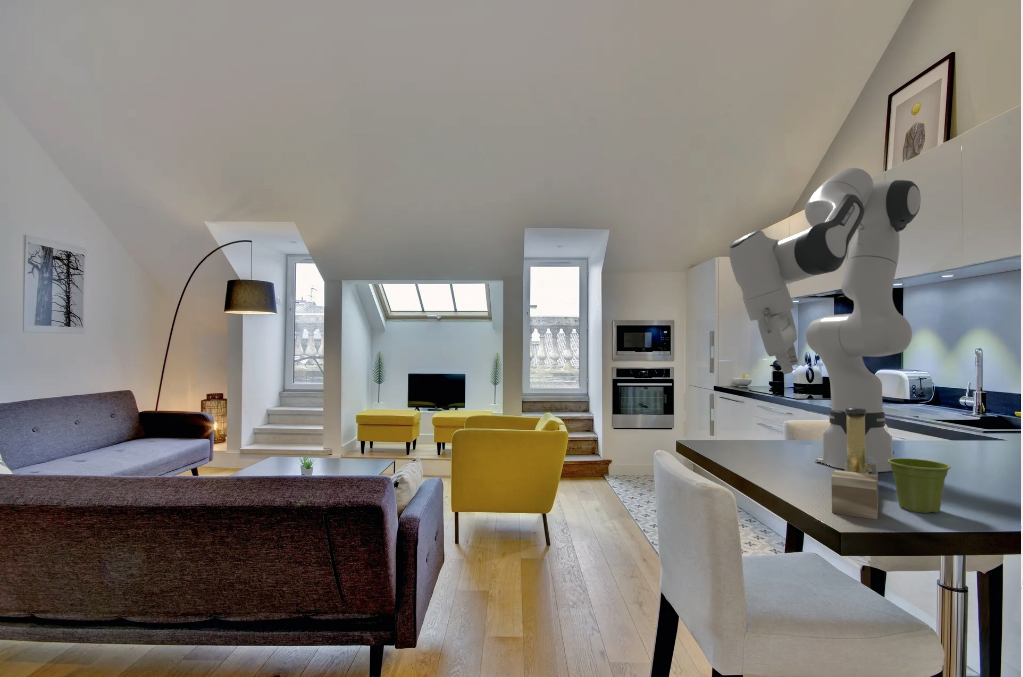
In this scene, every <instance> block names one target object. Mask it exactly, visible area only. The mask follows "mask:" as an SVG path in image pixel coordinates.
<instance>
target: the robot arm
mask: <svg viewBox="0 0 1023 677" xmlns="http://www.w3.org/2000/svg"><path fill="white" fill-rule="evenodd" d="M920 191H921V190H920V189H919V187H918V185H917V184H916V183H915V182H914V181H911V180H904V179H903V180H902V179H895V180H893V181H884V182H883V181H882V182H881V181H880V182H874V181H873V178H872V176H871V174H869V173H868V172H867V170H864V169H861V168H857V167H849V168H845V169H842V170H840V171H838V172H837V173H835V174H834V175H832V176H831V177H829V178H828V179H826V180H825V181H824V182H823V183H822V184H821V185H820V186H819V187H818V188H817V189H816V190H815V191H814V192H813V193H812V195H811V196H810V197H809V198H808V200H807V203H806V204H805V207H804V215H805V219H806V221H807V223H808V224H809V225H810V227H809V228H807V229H805V230H803V231H800V232H798V233H796V234H795V233H794V234H792V235H791V236H787V237H786V238H784V239H780V240H779V239H775V238H771V237H769V236H766V234H765V232H764V231H763V230H755V231H752V232H750V233H748V234H745V235H744V236H742V237H740V238H737V239H736V240H734V241H733V242H732V243H730V245H729V247H728V256H729V260H730V261H729V262H730V265H731V269H732V272H733V275H734V279H735V281H736V283H737V285H738V286H739V288H740V289H741V294H742V301H743V304H744V306H745V309H746V313H747V315H748V318H749V320H750V321H752V322H753V321H757V325H758V326H757V327H758V330H759V334H760V337H761V340H762V344H763V346H764V349H765V352H766V354H767V356H768V357H775V359H776V361H777V363H778V364H779V366H780V368H781V372H782V373H783V374H784V375H788V374H792V373H793V371H794V368H793V366H796V365H798V363H799V359H798V357H797V352H796V346H795V342H796V341H797V340H798V333H797V329H796V324H795V321H794V317H793V313H792V309H794V308H795V305H794V304H793V300H792V297H791V294H790V291H789V289H788V286H787V285H789V284H792V283H796V282H799V281H802V280H806V279H808V278H811V277H814V276H815V277H816V276H820V275H823V274H829V273H833V272H836V271H837V270H839V268H840V267H841V266H842V265H843V264H844V261H845V259H846V257H847V259H846V263H845V267H844V268H845V269H844V273H843V276H842V282H841V286H840V287H841V291H842V293H843V294H844V295H845V297H846V298H848V299H849V300H851V301H853V311H852V313H844V314H843V313H842V314H840V313H839V314H830V315H826V316H823V317H820V318H817V319H814V320H813V321H811V322H810V324H808V327H807V329H806V332H805V339H806V340H805V341H806V343H807V345H808V348H809V349H810V350H812V351H813V352H814V353H815V354H816V355H818V357H819V358H820V360H821V361H822V363H823V365H824V366H825V369H826V371H827V375H828V378H829V383H830V384H829V385H830V402H831V403H830V405H831V408H830V410H829V414H828V418H829V421H828V422H829V423H830V424H829V425H828V427H827V428H826V429H825V430H823V431H822V455H820V456H817V457H815V458H814V462H815V461H817V462H821V463H820V464H822V463H825V464H824V465H826V464H827V466H829V465H830V467H833V468H837V469H842V470H845V469H844V461H845V459H846V457H847V414H845V408H862V409H866V415H865V456H874V457H877V459H878V473H879V472H880V473H881V472H893V471H892V469H891V464H890V463H889V462H888V459H893V458H894V454H895V451H894V449H893V436H892V435H891V434H890V433H889V432H887V430H886V429H885V426H886V416H885V415H886V414H885V412H884V411H883V384H882V381H881V379H880V378H879V376H877V375H876V374H874V373H872V372H871V371H870V370H869V369H868V367H866V365H865V362H864V359H863V357H886V356H892V355H896V354H900V353H903V352H904V351H905V350H906V349H908V347H909V345H910V343H911V341H912V338H913V330H912V326H911V324H910V322H909V320H908V319H906V318H905V316H903V315H902V314H901V313H899V311H898V310H897V308H896V306H895V303H894V300H893V299H894V298H893V291H894V290H893V289H894V282H895V276H896V271H897V267H898V263H899V255H900V233H899V232H901V231H903V230H905V228H906V227H907V225H909V224H910V223H911V222H912V221H913V220H914V218H915V217H916V216H917V214H918V213H919V211H920V208H921V199H922V198H921V192H920ZM856 232H857V233H856ZM855 233H856V235H855ZM854 235H855V236H854ZM853 237H854V239H853V241H852V243H851V247H850V249H849V252H848V247H849V244H850V242H851V240H852V238H853ZM847 253H848V256H847ZM817 462H816V463H817ZM870 472H871V469H869V473H870Z"/></svg>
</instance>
